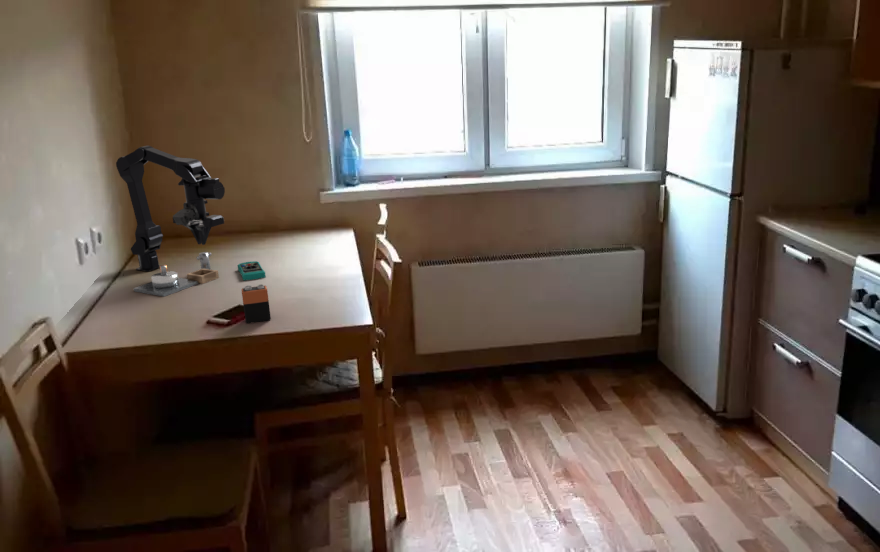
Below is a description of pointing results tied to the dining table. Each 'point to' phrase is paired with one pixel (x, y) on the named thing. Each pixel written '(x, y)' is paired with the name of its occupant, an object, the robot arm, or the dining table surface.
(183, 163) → the robot arm
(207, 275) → the key socket
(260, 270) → the digital multimeter
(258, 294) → the battery
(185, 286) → the chuck base
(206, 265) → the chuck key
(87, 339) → the dining table surface
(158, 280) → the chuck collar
